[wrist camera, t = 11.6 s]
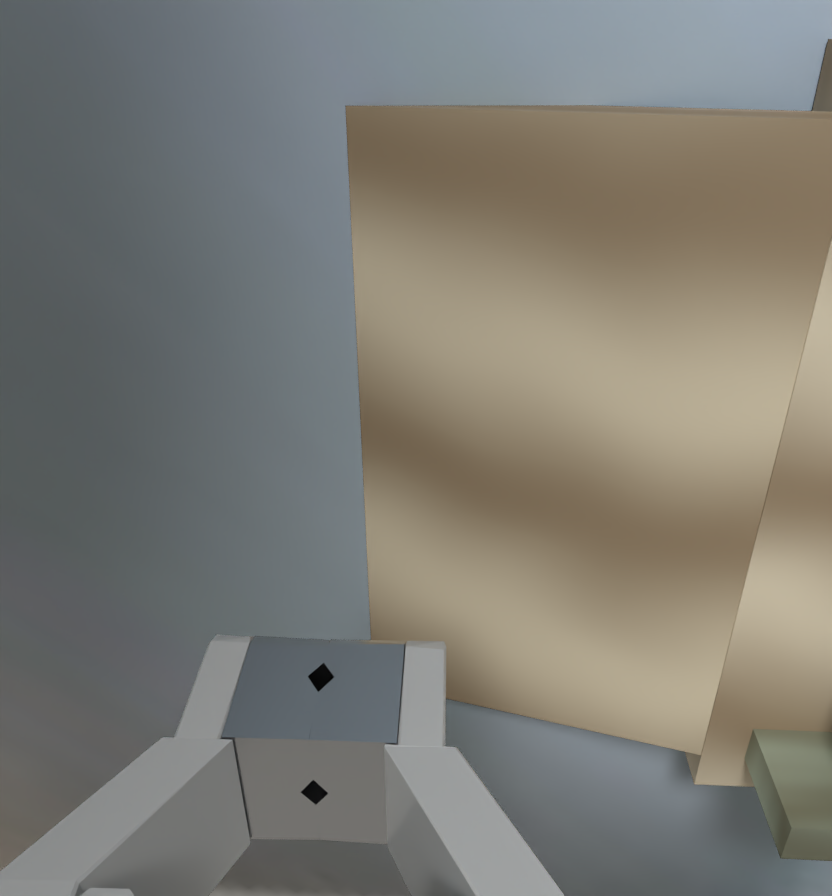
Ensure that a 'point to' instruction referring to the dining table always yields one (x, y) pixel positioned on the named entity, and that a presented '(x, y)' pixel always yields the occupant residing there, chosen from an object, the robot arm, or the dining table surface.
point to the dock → (609, 422)
